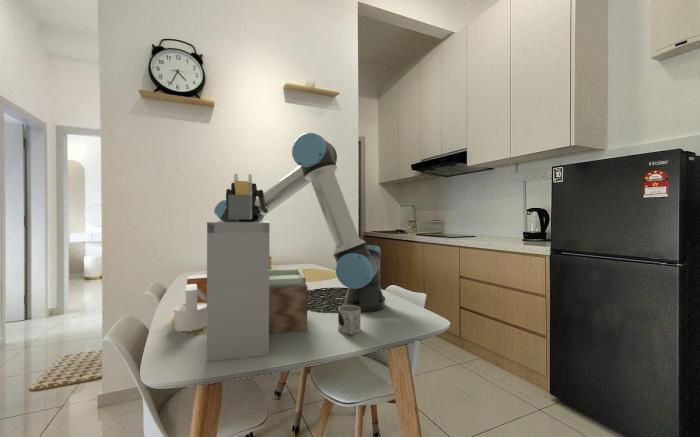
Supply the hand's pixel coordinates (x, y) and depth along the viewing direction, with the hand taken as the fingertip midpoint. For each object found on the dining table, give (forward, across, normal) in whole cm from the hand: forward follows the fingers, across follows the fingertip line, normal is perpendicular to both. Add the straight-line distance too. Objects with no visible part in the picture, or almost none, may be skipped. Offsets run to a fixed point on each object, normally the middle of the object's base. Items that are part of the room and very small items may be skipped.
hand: (242, 178), depth 85 cm
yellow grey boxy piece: (-5, 0, -10) cm, 11 cm away
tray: (-25, -11, -22) cm, 35 cm away
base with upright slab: (-34, +16, -32) cm, 49 cm away
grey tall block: (-17, 0, -41) cm, 45 cm away
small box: (-44, +16, -26) cm, 54 cm away
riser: (-31, -11, -33) cm, 47 cm away
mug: (-20, -30, -40) cm, 54 cm away
